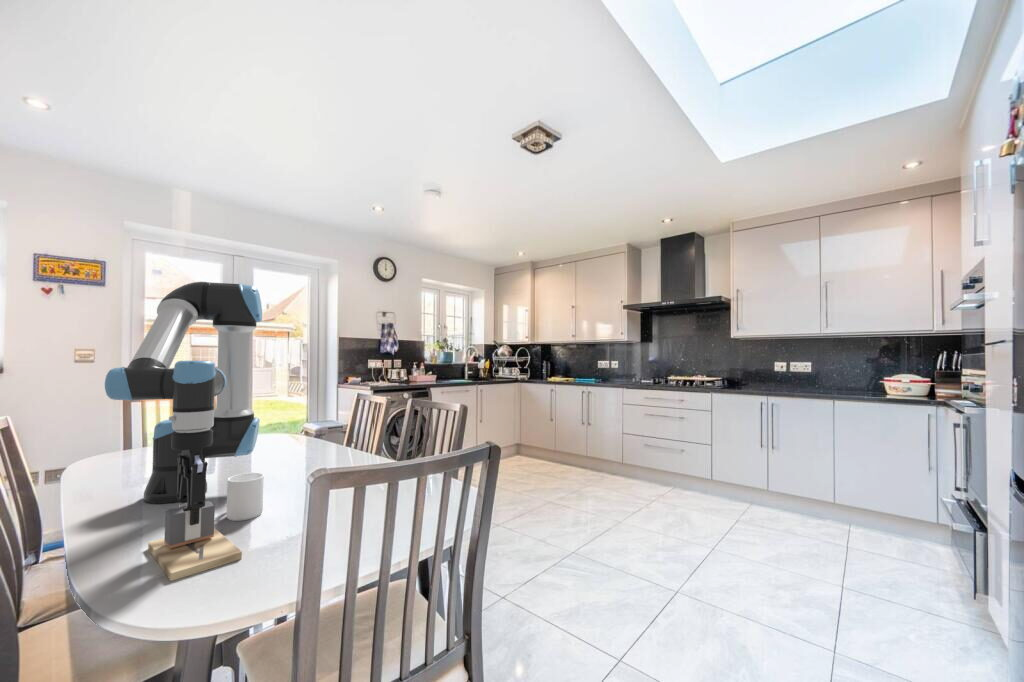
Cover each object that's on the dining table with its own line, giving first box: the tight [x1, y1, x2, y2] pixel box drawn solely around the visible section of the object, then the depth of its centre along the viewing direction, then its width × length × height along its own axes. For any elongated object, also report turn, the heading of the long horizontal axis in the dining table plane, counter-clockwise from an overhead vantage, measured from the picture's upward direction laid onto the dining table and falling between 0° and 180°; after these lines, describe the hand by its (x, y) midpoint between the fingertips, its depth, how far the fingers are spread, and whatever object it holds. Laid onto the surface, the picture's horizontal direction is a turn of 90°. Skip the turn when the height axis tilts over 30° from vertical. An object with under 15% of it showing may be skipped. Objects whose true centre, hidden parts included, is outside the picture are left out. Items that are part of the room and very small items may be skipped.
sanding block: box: [163, 500, 216, 549], centre depth 96 cm, size 4×8×7 cm, turn 140°
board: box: [147, 527, 243, 582], centre depth 93 cm, size 20×12×2 cm, turn 50°
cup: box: [226, 472, 265, 522], centre depth 116 cm, size 8×12×10 cm
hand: (189, 534), depth 96 cm, fingers closed on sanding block, 4 cm apart
